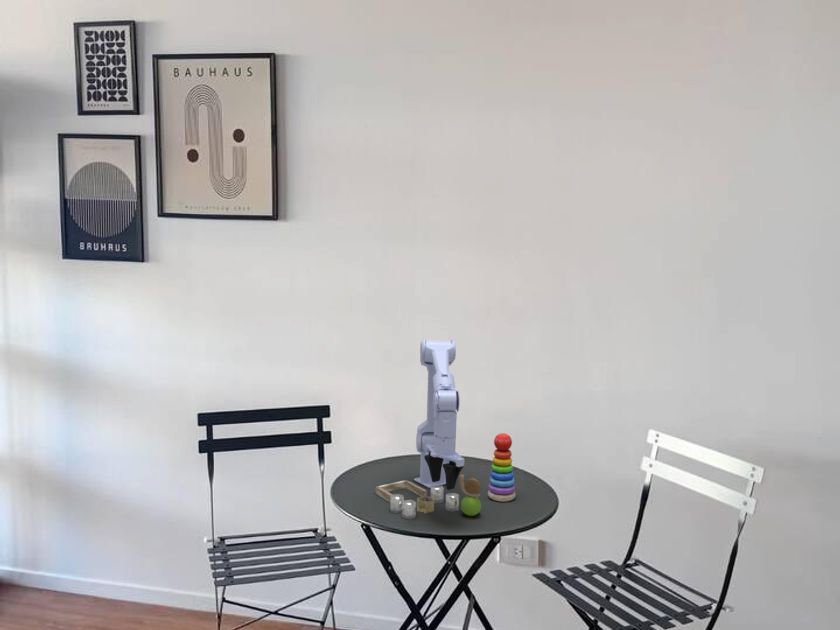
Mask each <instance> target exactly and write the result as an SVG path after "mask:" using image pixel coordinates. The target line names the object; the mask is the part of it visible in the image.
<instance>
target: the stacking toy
mask: <svg viewBox="0 0 840 630" xmlns="http://www.w3.org/2000/svg"><path fill="white" fill-rule="evenodd" d="M512 444H513V440H512V437H511V436H510V435H509V434H508V433H503V432H502V433H498V434H497V435H496V436H495V437H494V439H493V445H494V447H495V448H496V449H495V450H494V451H493V457H492V464H491V472H490V478H489V484H488V491H487V496H488V498H490V499H492V500H493V501H497V502H509V501H512V500H514V499H515V497H516V495H517V494H516V492H515V490H516V489H515V488H516V486H515V478H514V476H515V474H514V471H513V469H514V466H513V464H512V463H513V459H512V451H511V450H510V449H511V447H512Z"/></svg>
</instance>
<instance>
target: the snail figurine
mask: <svg viewBox="0 0 840 630" xmlns="http://www.w3.org/2000/svg"><path fill="white" fill-rule="evenodd" d="M462 471H463V469H462V470H461V472H460V474H459V476H458V478H459V484H460V488H461V490H462V492H463V494H465V495H466V496H465V497H463V499H462V500H461V502H460V508H461V511H462V512H463V513H464V514H465V515H467V516H469V517H473V516H476V515H477V514H479V513H480V512H481V510H482V509H481V508H482V502H481V500H480V499H479V496H481V493H480V490H481V489H482V486H481V482H480V481H479V480H478V479H477V478H474V477H470V478H468V479H466V480H465V475H464V474H462ZM464 480H465V481H464Z"/></svg>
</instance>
